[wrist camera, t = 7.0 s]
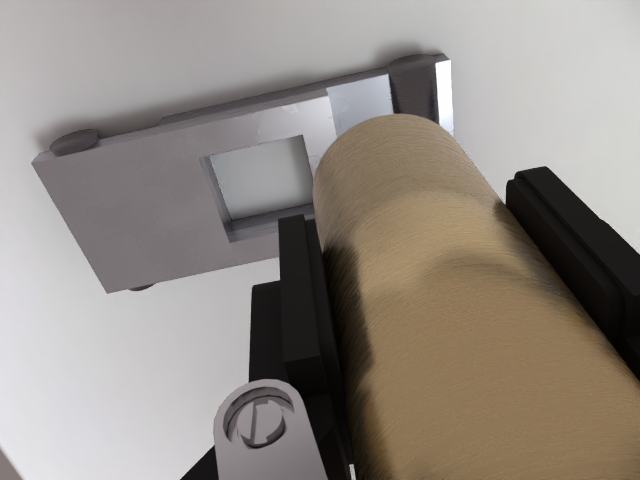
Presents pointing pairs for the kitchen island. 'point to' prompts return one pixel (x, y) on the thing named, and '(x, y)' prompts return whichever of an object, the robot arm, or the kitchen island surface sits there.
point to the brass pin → (459, 324)
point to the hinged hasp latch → (199, 178)
